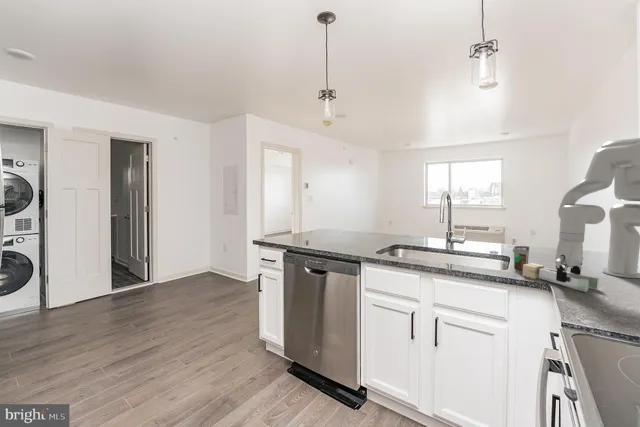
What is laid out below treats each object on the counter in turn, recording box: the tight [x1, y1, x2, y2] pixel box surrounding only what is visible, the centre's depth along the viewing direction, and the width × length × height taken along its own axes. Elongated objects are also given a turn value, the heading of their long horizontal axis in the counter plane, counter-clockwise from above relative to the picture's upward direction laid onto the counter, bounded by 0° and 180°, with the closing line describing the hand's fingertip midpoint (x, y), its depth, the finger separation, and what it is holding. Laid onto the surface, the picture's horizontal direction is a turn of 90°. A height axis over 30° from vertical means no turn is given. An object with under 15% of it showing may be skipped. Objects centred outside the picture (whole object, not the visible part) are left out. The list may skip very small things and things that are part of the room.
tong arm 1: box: [538, 269, 589, 293], centre depth 120 cm, size 18×2×4 cm, turn 16°
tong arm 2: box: [543, 267, 600, 290], centre depth 122 cm, size 18×2×4 cm, turn 34°
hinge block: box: [521, 263, 545, 280], centre depth 132 cm, size 6×5×5 cm
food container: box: [512, 245, 530, 272], centre depth 146 cm, size 12×6×10 cm, turn 141°
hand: (568, 280), depth 120 cm, fingers open, 9 cm apart
